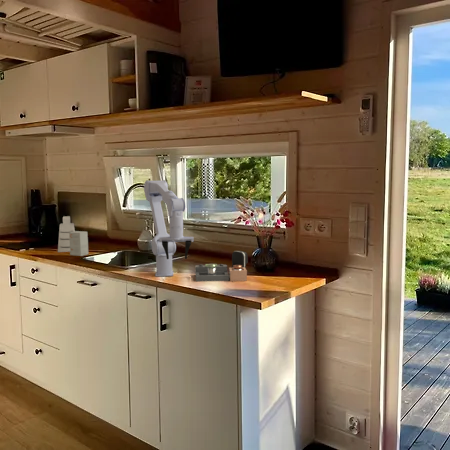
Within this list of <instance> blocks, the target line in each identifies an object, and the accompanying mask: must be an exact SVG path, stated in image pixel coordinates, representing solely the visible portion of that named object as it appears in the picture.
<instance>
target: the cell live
mask: <svg viewBox="0 0 450 450" xmlns="http://www.w3.org/2000/svg"><path fill="white" fill-rule="evenodd" d="M207 264H208V275H216V264H217V263H207Z"/></svg>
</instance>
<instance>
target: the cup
mask: <svg viewBox="0 0 450 450" xmlns="http://www.w3.org/2000/svg"><path fill="white" fill-rule="evenodd" d="M228 274H229V281H230V282H247V281H248V276H247V275H248V270H247V267H246V268H245V267H242V270H234V268H232V267H228Z"/></svg>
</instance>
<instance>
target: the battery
mask: <svg viewBox="0 0 450 450" xmlns="http://www.w3.org/2000/svg"><path fill="white" fill-rule="evenodd" d="M248 258H249V257H248V253H247V251H242V250H234V251H233V252H232V255H231V266H232V267H231V268H233V265H242V267H245V268H246V269H247V267H246V266H247V264H248V262H249V259H248Z"/></svg>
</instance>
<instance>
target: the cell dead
mask: <svg viewBox="0 0 450 450" xmlns="http://www.w3.org/2000/svg"><path fill="white" fill-rule="evenodd" d="M233 268H234V270H242V265H233Z"/></svg>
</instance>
